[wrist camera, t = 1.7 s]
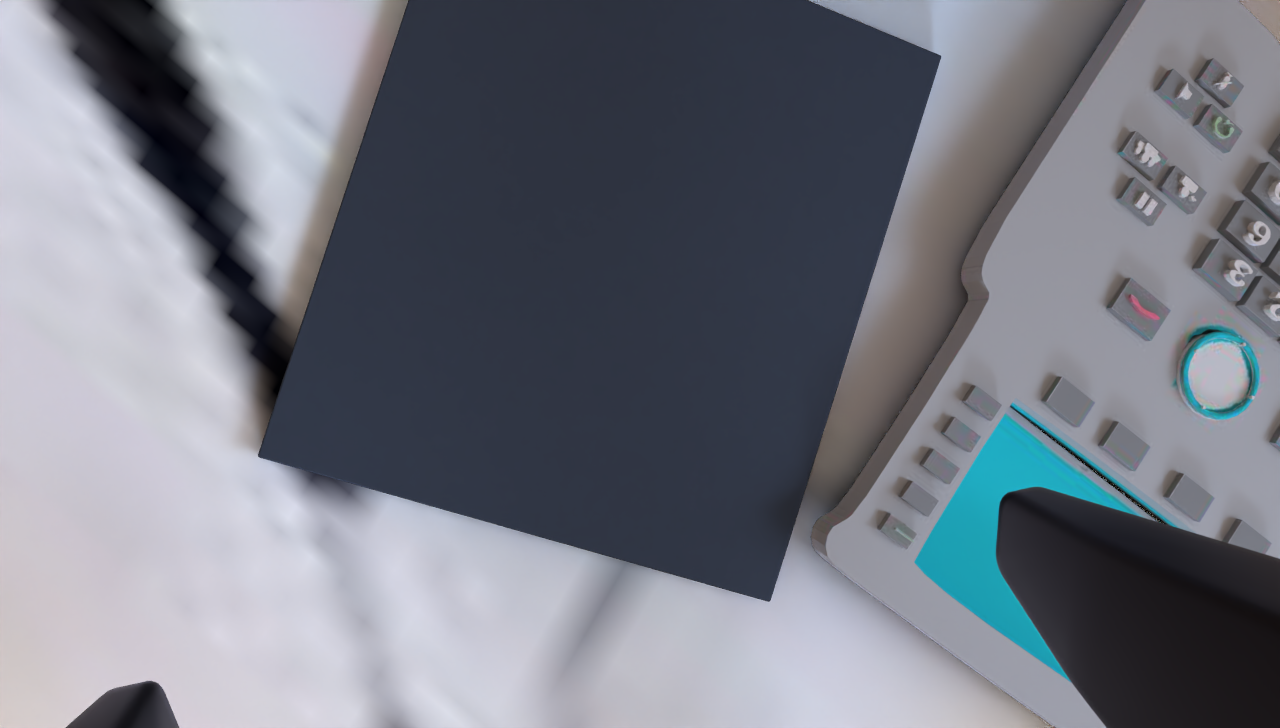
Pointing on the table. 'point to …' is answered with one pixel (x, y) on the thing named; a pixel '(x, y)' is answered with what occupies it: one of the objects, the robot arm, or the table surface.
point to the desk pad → (606, 270)
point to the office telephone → (1096, 343)
